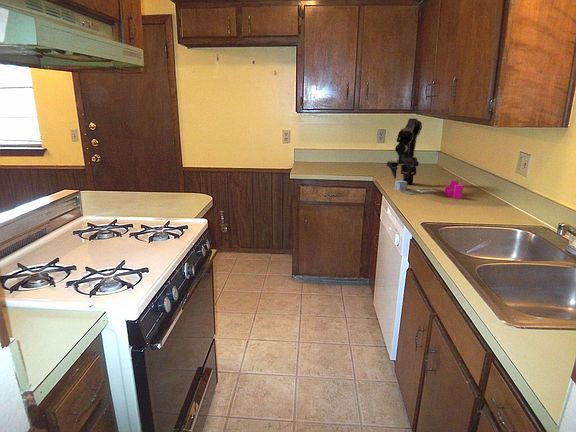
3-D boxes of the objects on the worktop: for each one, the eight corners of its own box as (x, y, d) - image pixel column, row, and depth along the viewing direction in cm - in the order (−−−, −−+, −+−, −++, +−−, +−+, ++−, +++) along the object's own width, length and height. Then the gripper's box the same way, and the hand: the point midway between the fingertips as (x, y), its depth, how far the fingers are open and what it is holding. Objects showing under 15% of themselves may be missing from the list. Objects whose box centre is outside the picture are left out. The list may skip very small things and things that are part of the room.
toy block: (444, 192, 230) (446, 180, 228) (456, 193, 229) (457, 180, 227) (449, 198, 216) (451, 185, 214) (461, 199, 215) (463, 185, 213)
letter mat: (400, 191, 232) (400, 190, 232) (432, 188, 239) (432, 188, 239) (409, 194, 224) (409, 194, 224) (442, 192, 231) (442, 191, 231)
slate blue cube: (394, 188, 238) (395, 180, 237) (401, 188, 240) (402, 180, 239) (399, 190, 234) (400, 182, 232) (406, 190, 235) (407, 181, 234)
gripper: (398, 154, 220) (395, 181, 225) (425, 153, 226) (423, 179, 231) (387, 151, 230) (385, 177, 235) (414, 150, 236) (411, 176, 241)
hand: (401, 178), depth 235 cm, fingers open, 9 cm apart
